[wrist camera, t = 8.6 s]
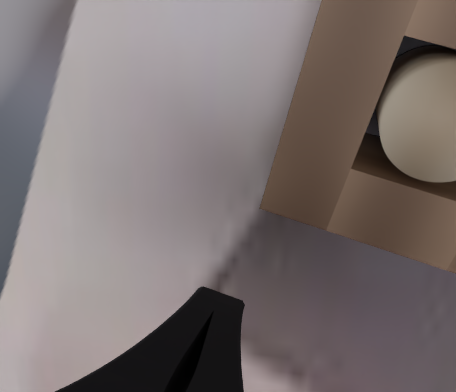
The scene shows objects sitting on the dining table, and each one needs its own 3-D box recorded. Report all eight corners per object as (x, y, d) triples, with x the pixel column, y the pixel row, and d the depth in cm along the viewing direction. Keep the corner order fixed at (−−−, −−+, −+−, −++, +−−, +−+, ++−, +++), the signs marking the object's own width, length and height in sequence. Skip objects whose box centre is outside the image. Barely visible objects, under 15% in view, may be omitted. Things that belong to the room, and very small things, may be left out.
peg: (498, 60, 17) (542, 83, 13) (451, 153, 19) (476, 197, 15) (396, 34, 17) (409, 47, 13) (360, 126, 19) (362, 162, 15)
